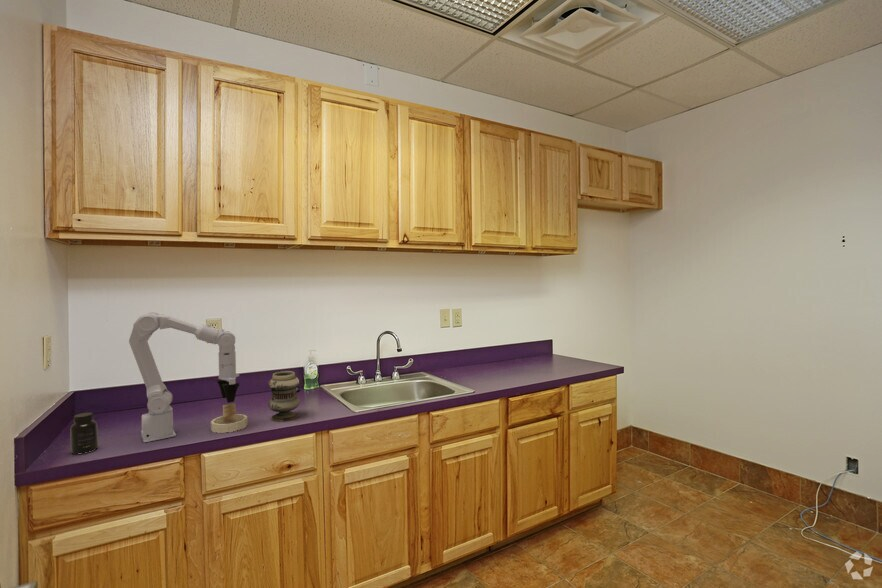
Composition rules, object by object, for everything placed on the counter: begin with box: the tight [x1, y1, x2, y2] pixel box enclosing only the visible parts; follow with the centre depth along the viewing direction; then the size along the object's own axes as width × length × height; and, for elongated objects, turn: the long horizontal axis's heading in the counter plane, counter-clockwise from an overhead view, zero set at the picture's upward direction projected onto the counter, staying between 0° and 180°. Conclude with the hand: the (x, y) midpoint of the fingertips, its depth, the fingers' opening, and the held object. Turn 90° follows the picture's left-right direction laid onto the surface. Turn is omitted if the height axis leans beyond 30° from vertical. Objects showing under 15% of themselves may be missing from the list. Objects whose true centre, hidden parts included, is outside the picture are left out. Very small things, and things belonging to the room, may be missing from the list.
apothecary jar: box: [267, 370, 301, 422], centre depth 171 cm, size 12×12×18 cm
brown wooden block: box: [222, 402, 237, 424], centre depth 160 cm, size 4×2×8 cm, turn 130°
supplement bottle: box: [69, 412, 99, 455], centre depth 139 cm, size 7×7×12 cm
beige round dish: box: [210, 413, 249, 434], centre depth 161 cm, size 12×12×3 cm
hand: (228, 399), depth 160 cm, fingers open, 7 cm apart
